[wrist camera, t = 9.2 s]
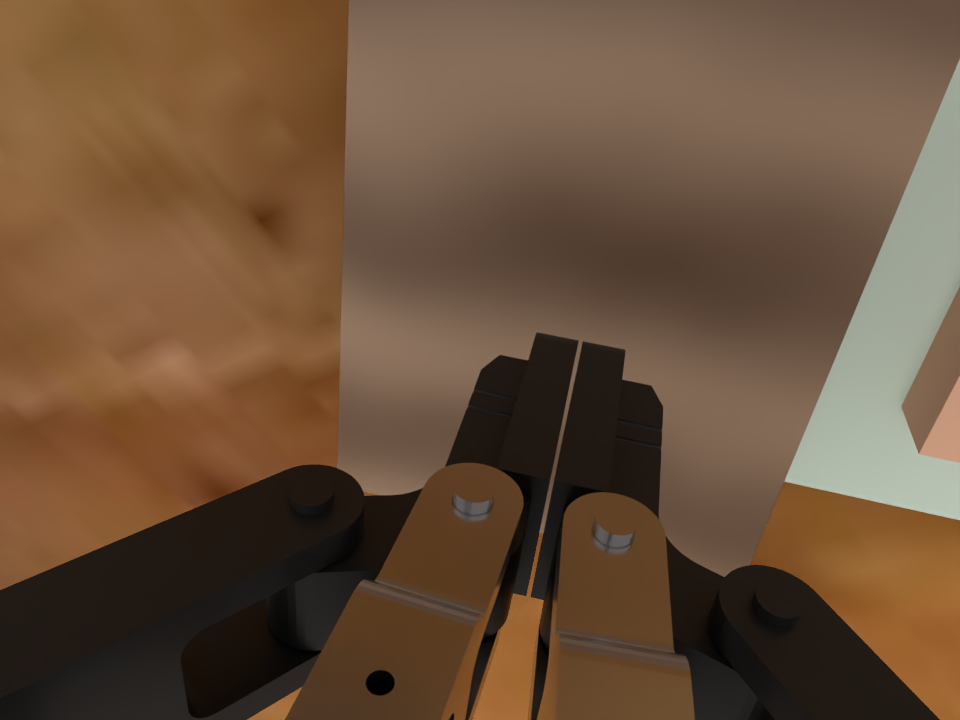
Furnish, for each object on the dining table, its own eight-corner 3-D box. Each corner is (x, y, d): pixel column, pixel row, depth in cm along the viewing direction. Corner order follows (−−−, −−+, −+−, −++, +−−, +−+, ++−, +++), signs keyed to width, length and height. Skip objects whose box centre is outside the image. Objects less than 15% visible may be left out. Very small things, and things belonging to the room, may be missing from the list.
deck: (415, -245, 18) (355, -263, 15) (984, -172, 17) (1056, -173, 14) (378, 408, 28) (336, 484, 25) (736, 488, 27) (743, 580, 24)
